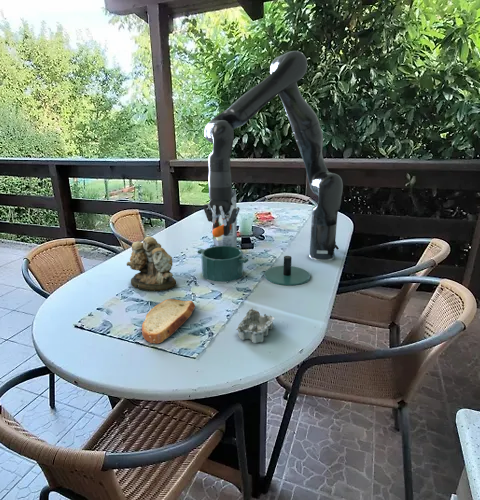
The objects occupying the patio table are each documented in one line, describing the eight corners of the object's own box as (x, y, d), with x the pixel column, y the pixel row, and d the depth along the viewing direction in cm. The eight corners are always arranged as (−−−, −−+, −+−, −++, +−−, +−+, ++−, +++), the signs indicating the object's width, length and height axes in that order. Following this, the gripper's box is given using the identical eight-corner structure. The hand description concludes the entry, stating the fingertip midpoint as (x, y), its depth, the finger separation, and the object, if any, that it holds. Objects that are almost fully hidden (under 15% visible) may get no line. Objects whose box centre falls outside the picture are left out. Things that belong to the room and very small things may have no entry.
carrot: (227, 229, 131) (227, 220, 130) (234, 230, 130) (234, 222, 129) (210, 237, 123) (210, 228, 122) (218, 239, 122) (218, 229, 121)
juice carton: (229, 242, 166) (228, 182, 157) (238, 249, 157) (238, 186, 147) (211, 245, 163) (209, 184, 154) (219, 252, 154) (217, 188, 145)
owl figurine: (121, 287, 126) (114, 240, 120) (138, 274, 136) (133, 230, 130) (168, 294, 120) (163, 245, 114) (182, 279, 130) (179, 234, 124)
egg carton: (251, 319, 103) (251, 306, 102) (276, 326, 99) (277, 312, 98) (233, 337, 95) (233, 324, 93) (260, 346, 91) (260, 332, 89)
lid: (276, 265, 138) (276, 246, 136) (316, 274, 129) (317, 253, 127) (256, 280, 126) (256, 260, 124) (299, 291, 118) (300, 269, 115)
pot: (211, 262, 144) (210, 242, 141) (256, 272, 133) (256, 251, 130) (188, 276, 133) (187, 254, 130) (235, 288, 122) (235, 264, 119)
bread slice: (147, 347, 92) (146, 334, 91) (131, 314, 108) (130, 303, 107) (212, 329, 99) (211, 317, 98) (188, 301, 114) (187, 290, 113)
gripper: (244, 184, 119) (244, 234, 125) (209, 181, 127) (210, 229, 133) (232, 188, 113) (233, 240, 119) (196, 185, 121) (198, 234, 127)
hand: (221, 234), depth 126 cm, fingers closed on carrot, 3 cm apart
